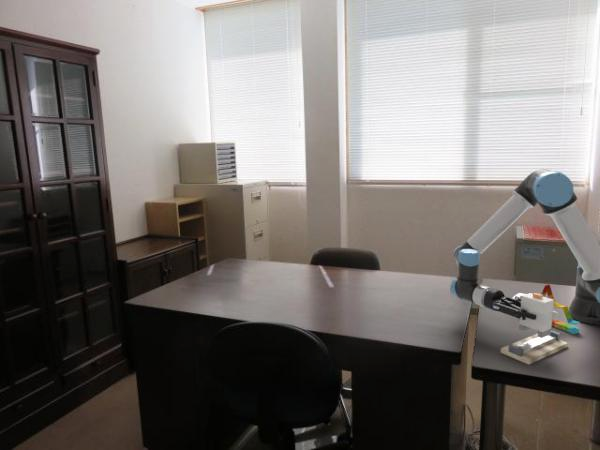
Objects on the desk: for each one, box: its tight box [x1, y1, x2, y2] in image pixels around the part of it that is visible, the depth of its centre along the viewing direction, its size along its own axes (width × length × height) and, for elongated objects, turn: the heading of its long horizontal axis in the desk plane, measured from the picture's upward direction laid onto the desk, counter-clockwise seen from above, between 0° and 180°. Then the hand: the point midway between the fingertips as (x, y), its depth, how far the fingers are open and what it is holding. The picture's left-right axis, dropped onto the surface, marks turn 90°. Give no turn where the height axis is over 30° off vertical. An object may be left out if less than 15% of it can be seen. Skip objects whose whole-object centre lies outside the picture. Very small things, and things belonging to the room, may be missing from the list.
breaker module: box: [518, 292, 555, 338], centre depth 150 cm, size 5×8×13 cm, turn 31°
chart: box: [520, 284, 581, 335], centre depth 177 cm, size 30×3×15 cm, turn 26°
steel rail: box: [508, 329, 561, 357], centre depth 152 cm, size 22×4×2 cm, turn 121°
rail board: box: [500, 333, 569, 365], centre depth 153 cm, size 22×10×2 cm, turn 121°
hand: (551, 318), depth 146 cm, fingers closed on breaker module, 5 cm apart
